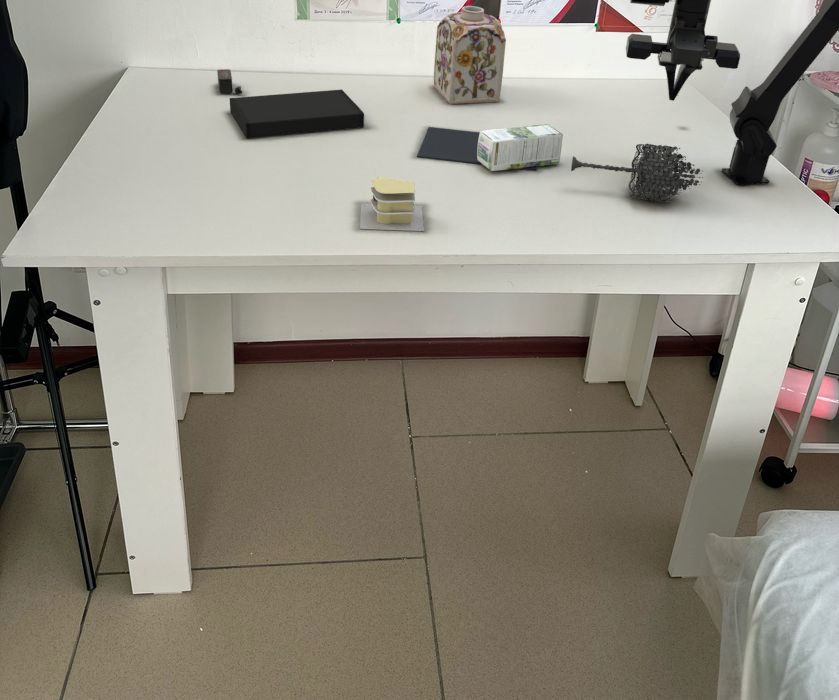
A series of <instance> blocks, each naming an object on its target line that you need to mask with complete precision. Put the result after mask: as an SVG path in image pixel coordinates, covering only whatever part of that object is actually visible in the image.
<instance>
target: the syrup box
mask: <svg viewBox="0 0 839 700" xmlns="http://www.w3.org/2000/svg"><path fill="white" fill-rule="evenodd" d="M479 132H480V134H479V139H478V147H477V160H478V161H479V162H481V163H482V164H483V165H482V164H481V165H482V166H484V167H485V168H487V169H488V170H489V171H490V172H498V171H507V170H513V169H517V168H524V167H533V166H537V167H540V166H550V165H559V164H560V162H561V157H562V156H561V154H562V147H563V137H564V133H562V132H560V131H559V130H557V129H556V128H555V127H553V126H551V125H550V124H548V123H547V124H545V123H544V124H534V125H526V126H514V127H505V128H496V129H495V128H494V129H485V130H480V131H479Z"/></svg>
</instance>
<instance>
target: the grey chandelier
mask: <svg viewBox="0 0 839 700" xmlns="http://www.w3.org/2000/svg"><path fill="white" fill-rule="evenodd" d="M635 149H636V151H635V153H634V156H633V159H632V161H631V167H624V166H620V167H619V166H613V165H610V164H606V165H602V164H596V163H588V162H582V161H580V160H578V159H577V157H575V156H574V155H573V156H572V161H571V167H570V172H573V171H575V170H576V169H579V168H591V169H599V170H600V169H601V170H607V171H615V172H619V171H620V172H625V173H630V177H631V179H630V180H629V183H628V189H629V191H630V192H631V193H630V195H628V197H629V198H634V199H638V200H645V201H646V200H647V201H649V200H650V201H655V202H662V203H663V202H670V201H671V202H673V201H674V197H676V196H680V195H681V193H682V190H683V191H687V189H688V190H690V189H691V188H690V187H692V185H693V186H694V187H697V186H698V185H699V186H701V183H703V181H700V180H698V179H696V180H695V178H699V179H701V178H702V179H704V177H703V176H702V177H701V176H696V175H699V174H700V175H702V173H704V170H701V169H700V168H699V167H698V168H696V167H695V164H692V162H690V161H687V156H686V155H682V154H681V153H679V152H678V151H679V150H681V147H678V146H675V145H674V146H671V145H665V144H664V145H662V144H658V145H656V144H651V143H645V144H644V143H638V144H636V145H635ZM692 166H693V167H692ZM687 178H688V179H687ZM672 197H673V198H672Z"/></svg>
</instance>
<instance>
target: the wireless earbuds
mask: <svg viewBox="0 0 839 700" xmlns="http://www.w3.org/2000/svg"><path fill="white" fill-rule="evenodd" d="M216 73H217V86H218V92H219V94H221V95H230V94H233V91H234V93H235V94H236V95H241V94H243V90H242V87H241V86H240V85H237V86H236V87H235V88H234V87H233V77H232V70H231V69H229V68H227V69H225V68H224V69H223V68H221V69H217V70H216ZM233 88H234V89H233Z"/></svg>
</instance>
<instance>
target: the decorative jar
mask: <svg viewBox="0 0 839 700" xmlns="http://www.w3.org/2000/svg"><path fill="white" fill-rule="evenodd" d="M460 10H461V11H459V12H452V13H450V14H447V15H446V16H445V17H443V18H442V19H441V21H440V22H439V23H438V24H437V26H436V37H435V38H436V39H435V52H434V53H435V54H434V65H433V87H434V88H435V89H436V91H437V92H438V93H439V94H440V95H441V96H442V98H444V99H445V100H446V101H447V102H448V103H449V104H450V105H458V104H460V105H463V104H478V103H494V102H495V103H497V102H500V101H501V92H502V86H503V78H504V77H503V76H504V67H505V66H504V65H505V56H506V55H505V54H506V44H507V39H506V34H505V31H504V29H503V27H502V23H501V21H500V20H499V19H498V18H496V17H495V16H493V15H490V14H487V13H485V9H484V8H483V7H480V6H474V5H465V6H461V9H460Z"/></svg>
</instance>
